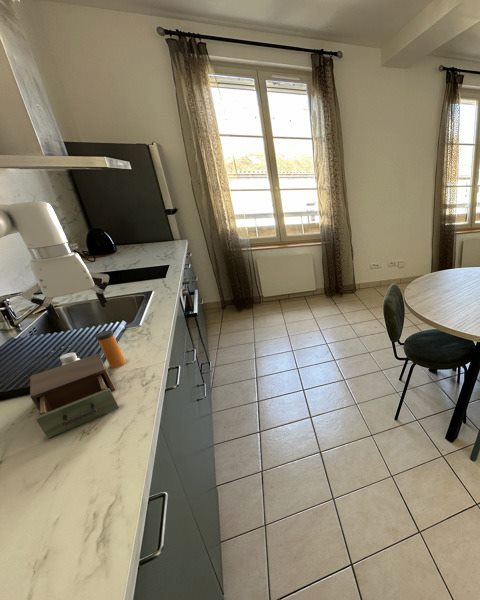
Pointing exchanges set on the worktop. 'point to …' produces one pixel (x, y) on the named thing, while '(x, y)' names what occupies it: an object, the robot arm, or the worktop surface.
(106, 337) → the spice jar
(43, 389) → the cabinet
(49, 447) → the worktop surface
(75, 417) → the drawer
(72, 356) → the pill bottle
